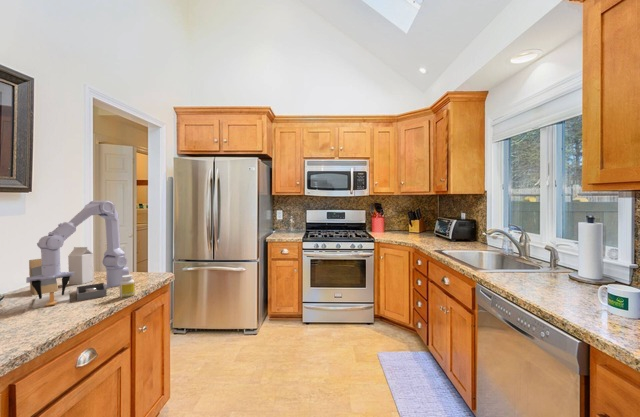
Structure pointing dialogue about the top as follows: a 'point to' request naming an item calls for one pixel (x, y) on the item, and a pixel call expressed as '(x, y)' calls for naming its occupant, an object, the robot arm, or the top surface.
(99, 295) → the tub
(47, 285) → the sandwich container
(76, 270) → the milk carton
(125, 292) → the supplement bottle
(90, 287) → the domed metal puck
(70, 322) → the top surface
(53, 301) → the lid
